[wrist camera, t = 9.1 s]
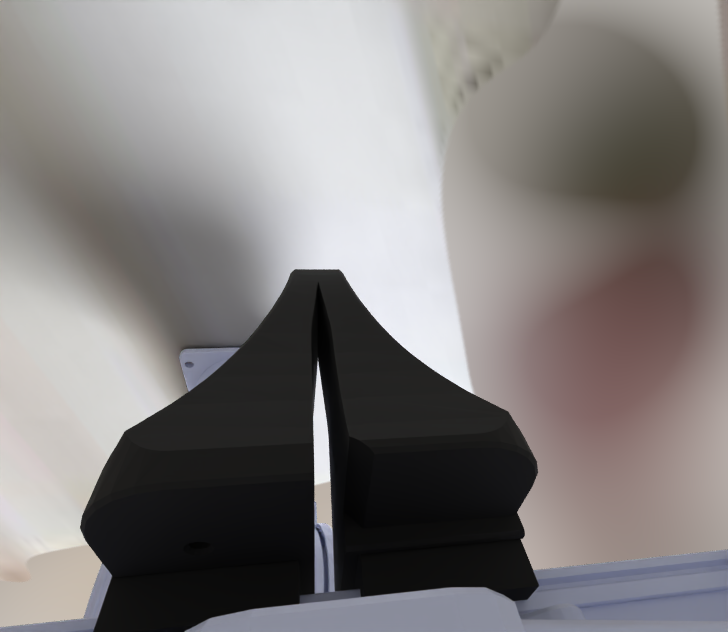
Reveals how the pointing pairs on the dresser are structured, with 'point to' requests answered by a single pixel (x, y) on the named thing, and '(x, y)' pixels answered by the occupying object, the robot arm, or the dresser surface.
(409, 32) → the dresser surface
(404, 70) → the dresser surface
